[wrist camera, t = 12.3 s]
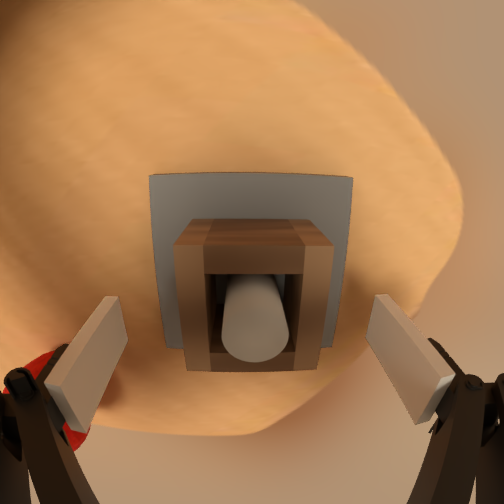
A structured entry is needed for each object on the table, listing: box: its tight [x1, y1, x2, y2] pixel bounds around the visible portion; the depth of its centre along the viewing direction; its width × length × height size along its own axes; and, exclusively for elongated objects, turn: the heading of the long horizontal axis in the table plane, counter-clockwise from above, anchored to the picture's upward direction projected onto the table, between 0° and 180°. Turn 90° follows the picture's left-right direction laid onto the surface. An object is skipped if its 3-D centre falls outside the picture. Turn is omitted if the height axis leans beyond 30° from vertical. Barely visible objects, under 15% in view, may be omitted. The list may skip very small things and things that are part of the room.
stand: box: [149, 172, 353, 362], centre depth 18 cm, size 14×14×9 cm
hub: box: [173, 219, 334, 372], centre depth 18 cm, size 8×8×6 cm
